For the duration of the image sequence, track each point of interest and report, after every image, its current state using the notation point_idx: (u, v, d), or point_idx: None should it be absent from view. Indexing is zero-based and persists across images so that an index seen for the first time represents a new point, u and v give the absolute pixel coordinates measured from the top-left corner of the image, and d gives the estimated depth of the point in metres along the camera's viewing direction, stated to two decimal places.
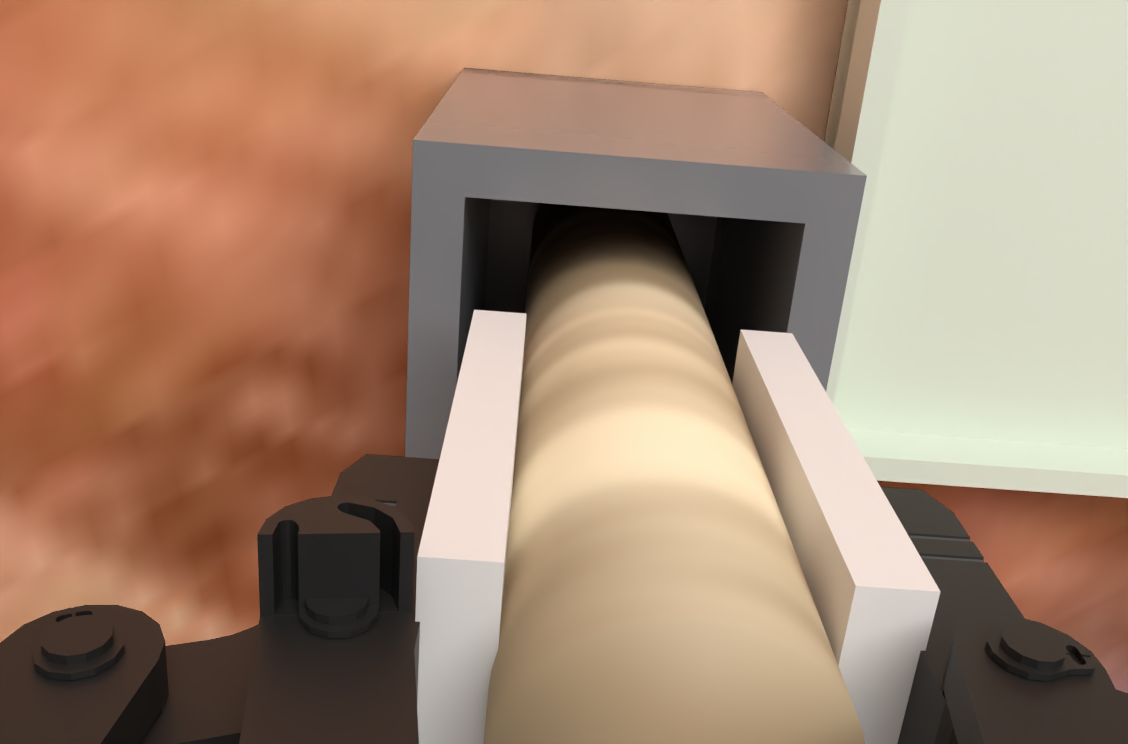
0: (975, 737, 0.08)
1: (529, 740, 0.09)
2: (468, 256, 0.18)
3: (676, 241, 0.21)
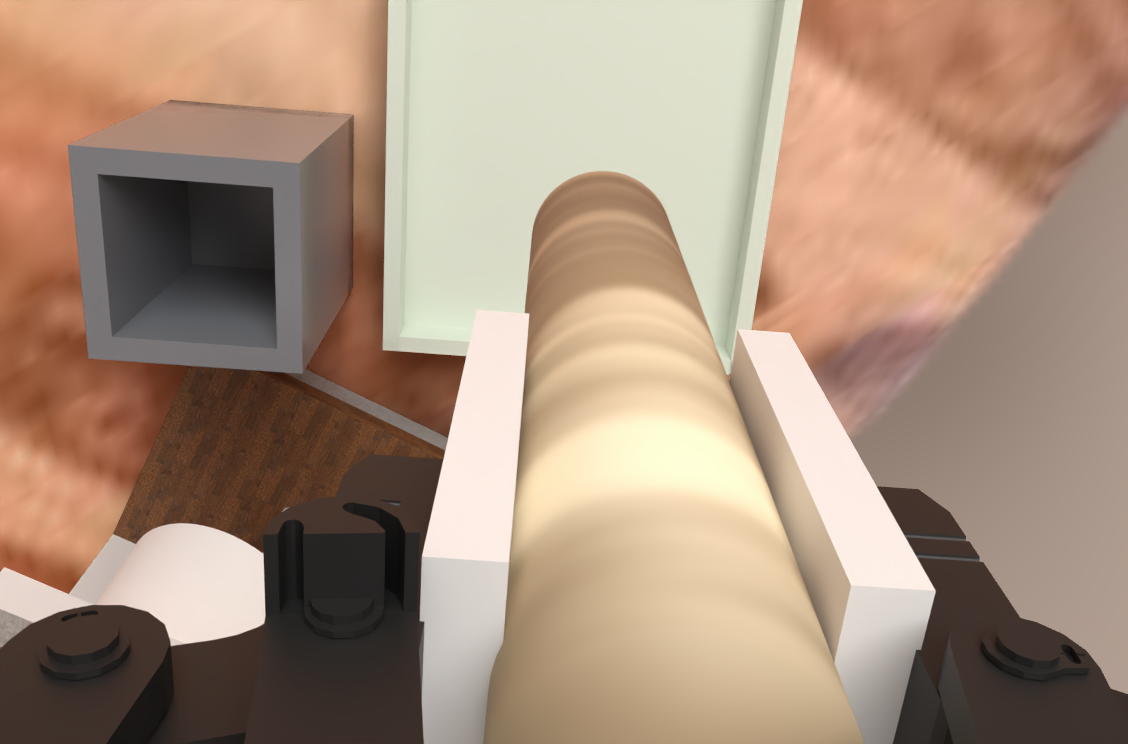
0: (971, 737, 0.08)
1: None
2: (119, 207, 0.34)
3: (676, 245, 0.21)
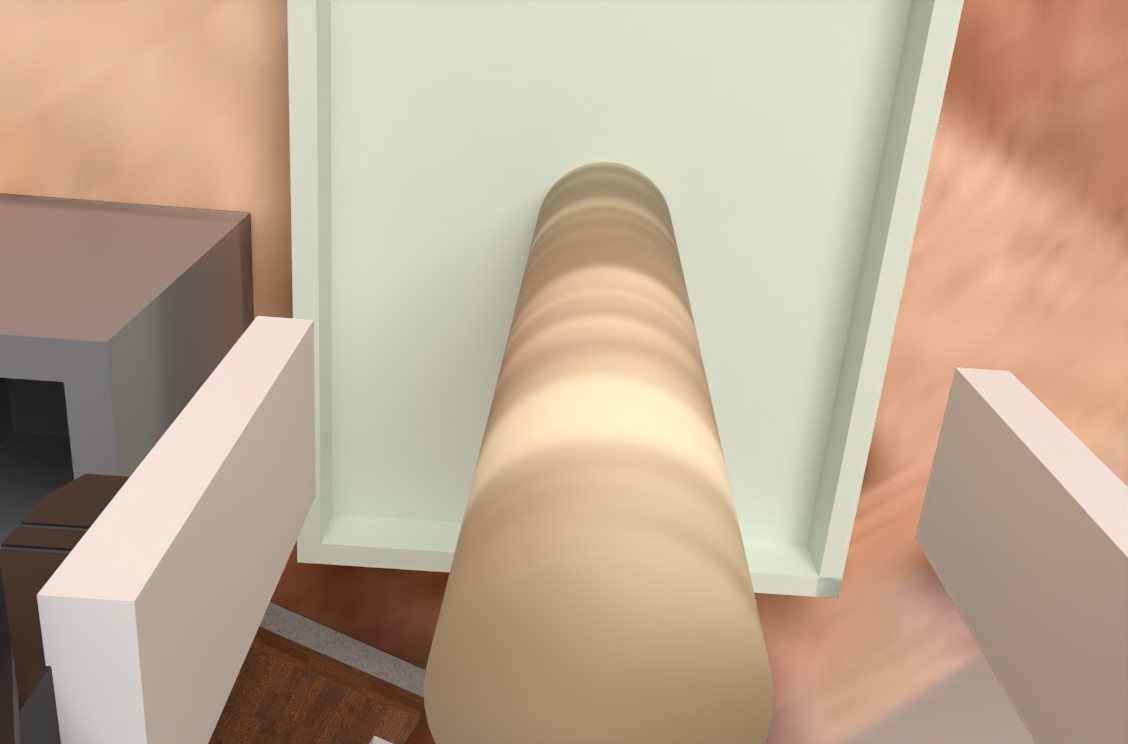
0: None
1: (466, 663, 0.10)
2: None
3: (669, 232, 0.22)
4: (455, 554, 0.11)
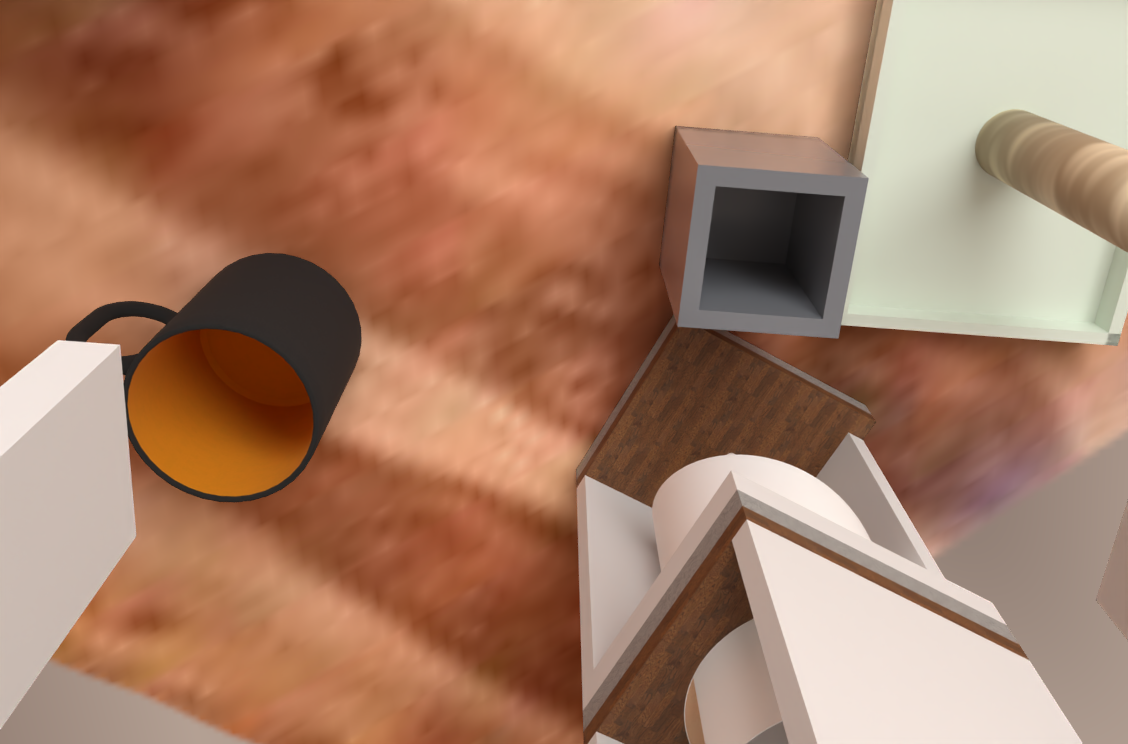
0: None
1: None
2: None
3: None
4: None
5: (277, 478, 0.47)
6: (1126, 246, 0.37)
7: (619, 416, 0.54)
